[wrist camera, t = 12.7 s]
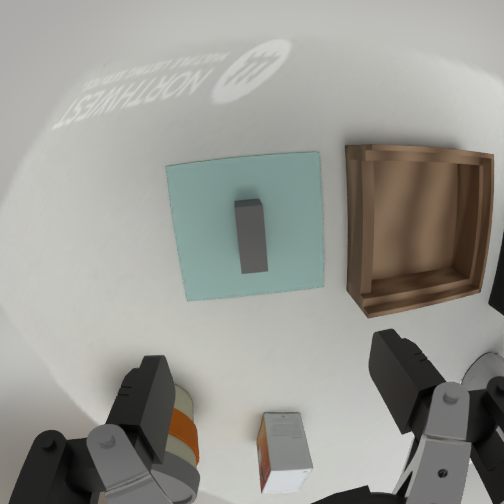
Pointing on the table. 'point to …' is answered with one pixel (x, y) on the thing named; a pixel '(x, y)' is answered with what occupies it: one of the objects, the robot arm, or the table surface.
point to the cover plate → (219, 230)
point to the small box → (283, 453)
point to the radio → (498, 284)
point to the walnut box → (416, 225)
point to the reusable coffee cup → (180, 454)
